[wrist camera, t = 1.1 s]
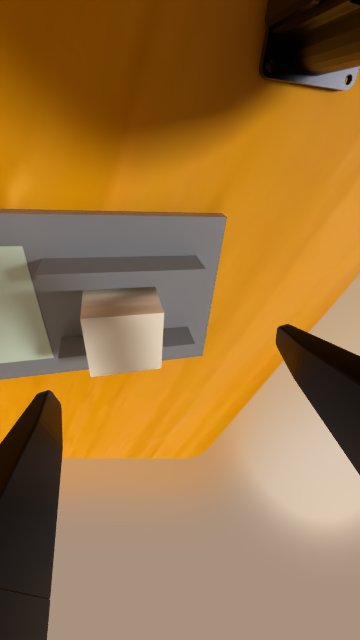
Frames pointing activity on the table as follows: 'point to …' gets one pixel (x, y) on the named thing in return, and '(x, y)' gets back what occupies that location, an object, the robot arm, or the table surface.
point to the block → (122, 330)
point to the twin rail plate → (100, 279)
